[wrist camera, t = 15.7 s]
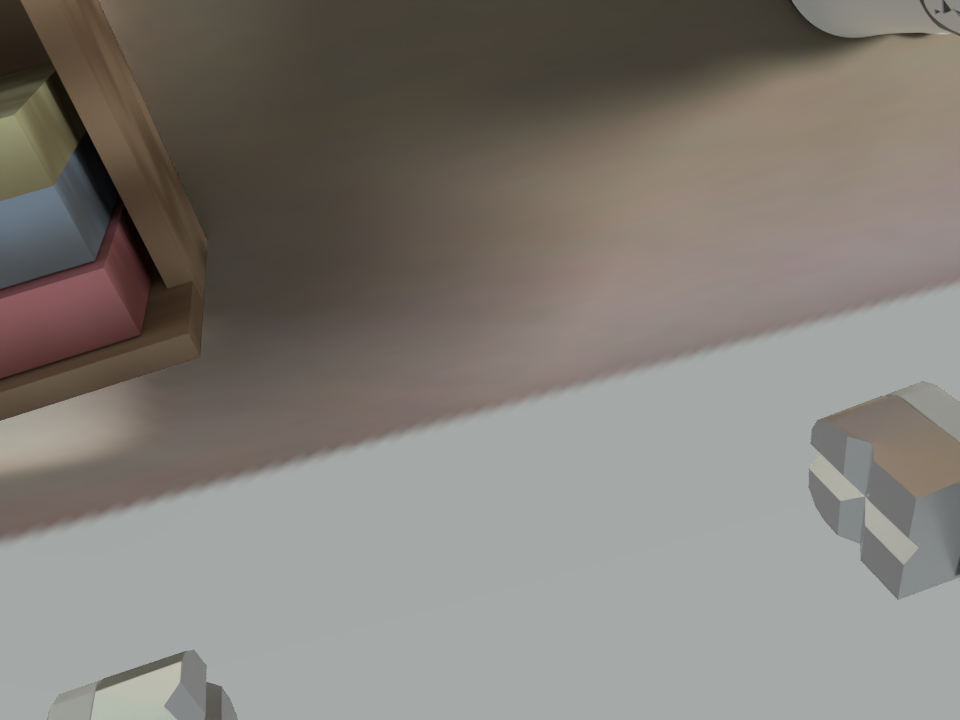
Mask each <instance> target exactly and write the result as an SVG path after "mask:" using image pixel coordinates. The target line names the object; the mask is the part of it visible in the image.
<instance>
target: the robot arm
mask: <svg viewBox="0 0 960 720" xmlns="http://www.w3.org/2000/svg"><path fill="white" fill-rule="evenodd" d="M792 2H793V3H794V5H795V6H796V8H797V9H798V10H799V12H800V13H801V14H802V15H803V16H804V17H805V18H806V19H807V20H808V21H809V22H810V23H812V24H813V25H814V26H816V27H817V28H819V29H821V30H823V31H825V32H827V33H830V34H833V35H836V36H841V37H849V38H860V37H869V36H875V35H882V34H893V33H927V34H949V33H952V34H956V35H959V36H960V0H792ZM811 444H812V446H813V447H815V449H817V450H818V451H819V452H820V453H819V455H818V456H817V458H816V459H815V461H814V462H813V464H812V465H811V467H810V468H809V489H810V492H811V495H812V498H813V501H814V503H815V506H816V508H817V510H818V511H819V513H820V514H821V516H822V518H823V519H824V521H825V522H826V523H827V524H828V525H829V526H830V527H831V529H832V530H833V531H834V532H835V533H836V534H837V535H838V536H841V537H844V538H847V539H849V540H852V541H855V542H857V543H860V555H861V561H862V562H863V563H864V564H865V565H866V566H867V567H868V568H869V570H870V571H871V572H872V573H873V574H874V575H875V576H876V577H877V578H878V579H879V580H880V581H881V582H882V583H883V585H884V586H885V587H887V589H888V590H889V591H890V592H891V593H892V594H893V595H894V596H895V597H896V598H897V599H898V600H899V599H901V598H904V597H907V596H910V595H912V594H915V593H918V592H920V591H923V590H926V589H929V588H931V587H934V586H937V585H940V584H942V583H945V582H948V581H951V580H953V579H956V578H959V577H960V402H959V401H958V400H956V399H955V398H954V397H952V396H951V395H949V394H948V393H947V392H945V391H944V390H942V389H941V388H940V387H938V386H937V385H934V384H932V383H928V382H924V381H922V382H920V383H917V384H914V385H911V386H909V387H906V388H903V389H901V390H898V391H895V392H892V393H890V394H887V395H886V396H880V397H878V398H875V399H872V400H870V401H867V402H864V403H862V404H859V405H856V406H854V407H851V408H849V409H846V410H843V411H841V412H838V413H835V414H833V415H830V416H827V417H825V418H822V419H820V420H817V422H816V423H815V425H814V426H813V428H812V435H811ZM206 669H207V665H206V664H205V663H204V662H203V660H202V659H201V658H200V657H199V655H198V654H197V653H196V651H195V650H189V651H184V652H181V653H179V654H176V655H173V656H170V657H167V658H164V659H161V660H158V661H155V662H152V663H149V664H146V665H143V666H140V667H137V668H134V669H131V670H128V671H125V672H122V673H119V674H116V675H113V676H110V677H107V678H104V679H103V680H100V681H97V682H94V683H91V684H88V685H86V686H82V687H80V688H77V689H74V690H71V691H68V692H65V693H62V694H59V695H58V697H57V698H56V700H55V702H54V703H53V705H52V706H51V708H50V710H49V713H48V718H47V720H238V719H237V714H236V712H235V710H234V707H233V705H232V702H231V700H230V698H229V697H228V695H227V694H226V692H225V691H224V689H223V688H222V687H221V686H218V685H215V684H211V683H208V682H206Z"/></svg>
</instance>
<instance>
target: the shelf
mask: <svg viewBox="0 0 960 720" xmlns="http://www.w3.org/2000/svg"><path fill="white" fill-rule="evenodd" d="M207 245H208V241H207V238H206V236H205V234H204V232H203V230H202V227H201V225H200V223H199V221H198V219H197V216H196V214H195V212H194V210H193V208H192V205H191V203H190V201H189V199H188V197H187V194H186V192H185V190H184V188H183V186H182V183H181V181H180V179H179V177H178V175H177V172H176V170H175V168H174V166H173V164H172V161H171V159H170V157H169V155H168V153H167V150H166V148H165V146H164V144H163V142H162V139H161V137H160V135H159V133H158V131H157V128H156V126H155V124H154V122H153V120H152V117H151V115H150V113H149V111H148V109H147V106H146V104H145V102H144V100H143V98H142V95H141V93H140V91H139V89H138V87H137V84H136V82H135V80H134V78H133V76H132V73H131V71H130V69H129V67H128V65H127V62H126V60H125V58H124V56H123V54H122V51H121V49H120V47H119V45H118V43H117V40H116V38H115V36H114V34H113V32H112V29H111V27H110V25H109V23H108V21H107V19H106V16H105V14H104V12H103V10H102V8H101V5H100V3H99V1H98V0H0V421H1V420H4V419H7V418H10V417H13V416H17V415H20V414H23V413H26V412H29V411H32V410H35V409H39V408H42V407H45V406H48V405H51V404H54V403H57V402H60V401H64V400H67V399H70V398H73V397H76V396H79V395H82V394H86V393H89V392H92V391H95V390H98V389H101V388H104V387H107V386H111V385H114V384H117V383H120V382H123V381H126V380H129V379H133V378H136V377H139V376H142V375H145V374H148V373H151V372H155V371H158V370H161V369H164V368H167V367H170V366H173V365H176V364H180V363H183V362H186V361H189V360H192V359H195V358H198V357H200V350H201V335H202V320H203V305H204V290H205V275H206V260H207Z"/></svg>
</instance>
